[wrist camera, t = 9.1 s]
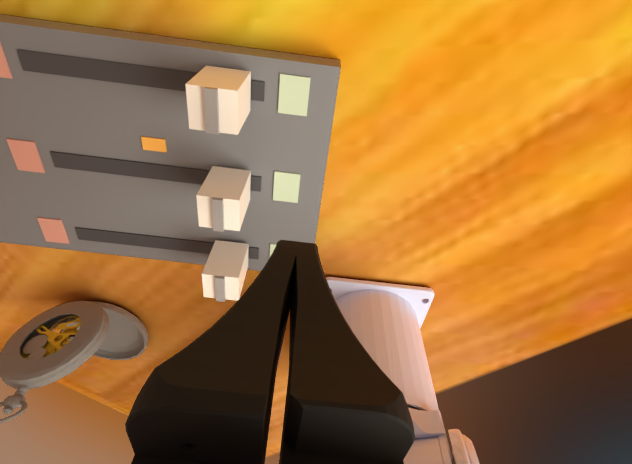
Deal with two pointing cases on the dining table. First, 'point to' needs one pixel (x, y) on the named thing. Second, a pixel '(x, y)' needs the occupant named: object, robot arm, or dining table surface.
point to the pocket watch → (59, 359)
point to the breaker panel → (152, 142)
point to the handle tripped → (224, 198)
